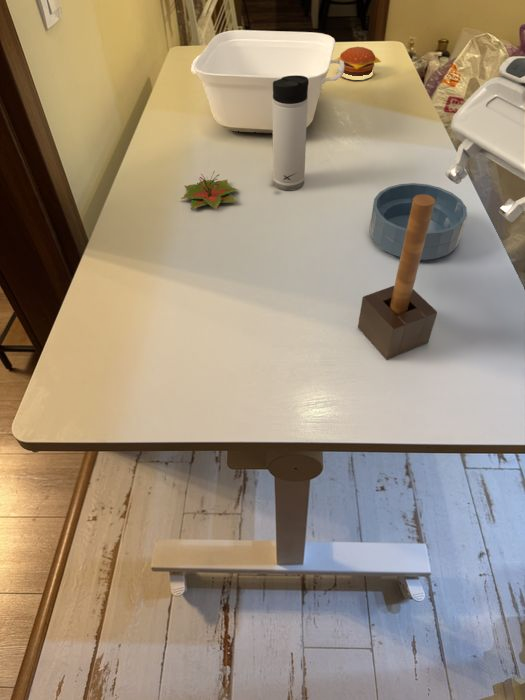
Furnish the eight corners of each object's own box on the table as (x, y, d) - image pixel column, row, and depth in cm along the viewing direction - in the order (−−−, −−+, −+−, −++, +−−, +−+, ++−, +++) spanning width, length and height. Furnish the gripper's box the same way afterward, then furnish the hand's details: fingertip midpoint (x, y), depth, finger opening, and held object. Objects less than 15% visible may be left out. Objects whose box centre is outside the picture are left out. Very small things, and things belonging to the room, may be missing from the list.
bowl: (440, 209, 96) (448, 180, 92) (470, 259, 86) (481, 229, 82) (360, 216, 96) (364, 186, 91) (381, 267, 85) (387, 236, 81)
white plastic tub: (343, 98, 131) (349, 33, 120) (334, 151, 112) (340, 80, 102) (213, 92, 136) (207, 28, 125) (183, 142, 117) (173, 72, 106)
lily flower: (175, 186, 104) (172, 164, 101) (233, 177, 106) (232, 156, 103) (184, 218, 96) (180, 196, 93) (247, 208, 98) (245, 186, 95)
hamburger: (355, 66, 146) (358, 40, 141) (380, 76, 141) (384, 49, 136) (330, 74, 142) (333, 47, 138) (355, 85, 137) (358, 57, 132)
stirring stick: (398, 328, 76) (431, 193, 59) (402, 340, 74) (438, 204, 58) (382, 329, 76) (410, 194, 59) (386, 341, 74) (417, 206, 58)
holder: (398, 311, 78) (405, 281, 74) (428, 342, 74) (437, 312, 69) (357, 327, 76) (362, 296, 72) (386, 360, 72) (393, 329, 67)
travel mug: (291, 195, 101) (294, 87, 86) (266, 183, 104) (264, 78, 89) (311, 182, 104) (317, 76, 89) (286, 171, 107) (288, 67, 92)
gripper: (655, 153, 54) (549, 254, 58) (513, 85, 67) (434, 172, 71) (649, 118, 49) (534, 231, 54) (497, 52, 62) (414, 148, 66)
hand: (476, 197), depth 63 cm, fingers open, 8 cm apart
